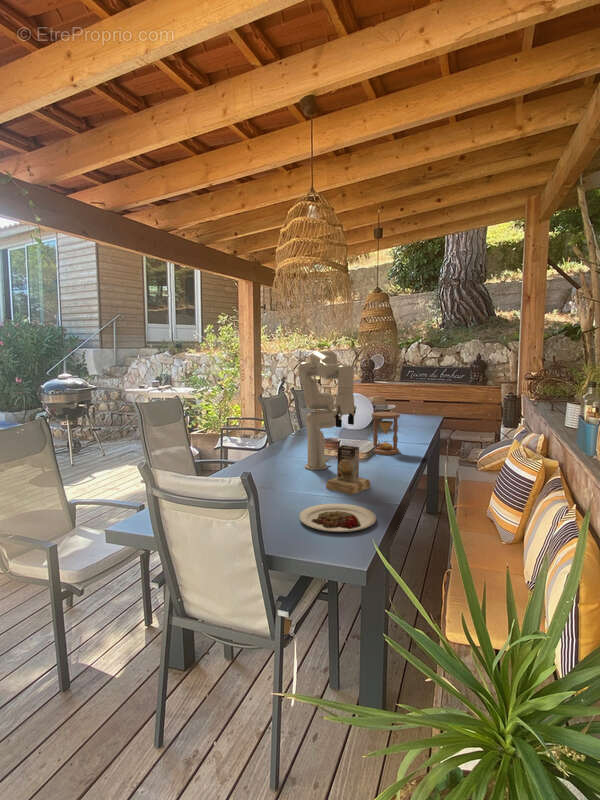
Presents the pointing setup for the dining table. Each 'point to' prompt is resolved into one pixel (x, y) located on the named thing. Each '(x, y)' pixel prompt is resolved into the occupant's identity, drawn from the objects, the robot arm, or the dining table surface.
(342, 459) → the coffee box
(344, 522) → the plated food
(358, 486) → the sliced bread
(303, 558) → the dining table surface
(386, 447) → the hourglass
